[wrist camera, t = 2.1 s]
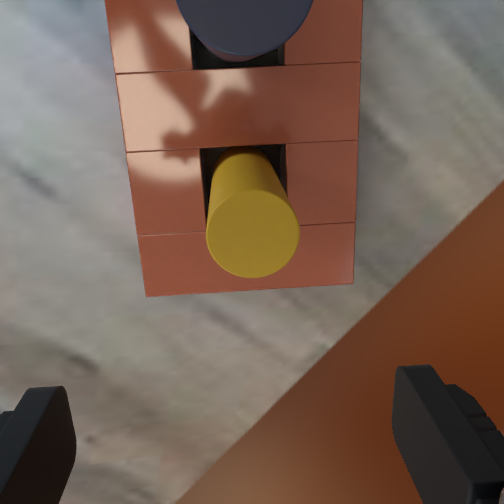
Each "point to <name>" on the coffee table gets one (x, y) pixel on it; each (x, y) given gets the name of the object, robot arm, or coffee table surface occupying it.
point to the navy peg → (243, 25)
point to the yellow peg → (249, 215)
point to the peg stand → (238, 140)
